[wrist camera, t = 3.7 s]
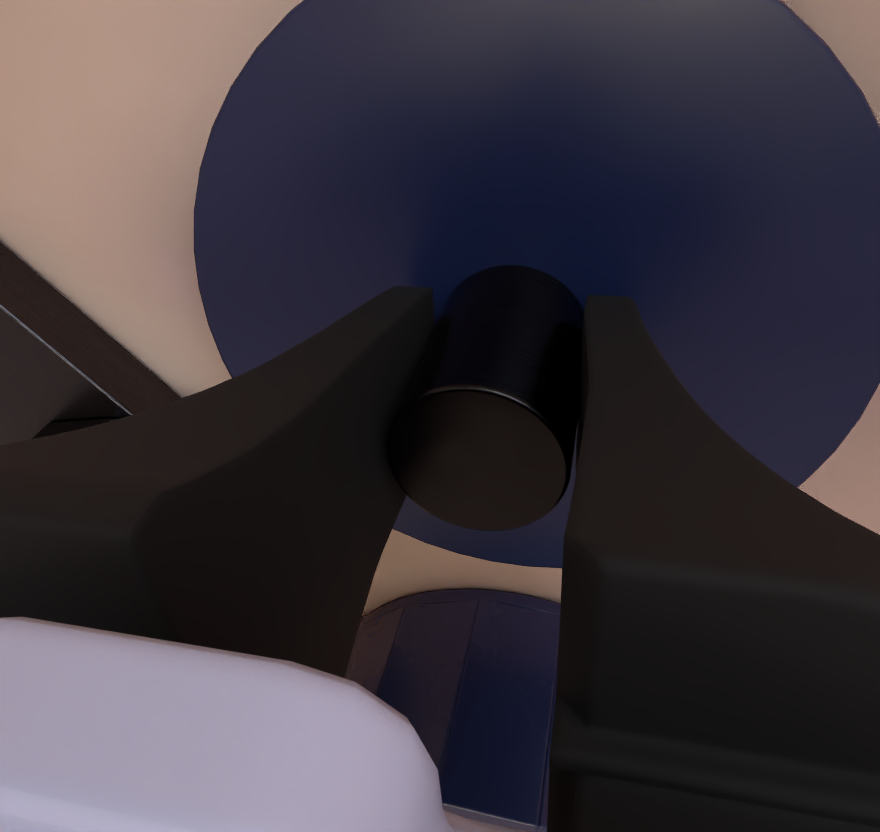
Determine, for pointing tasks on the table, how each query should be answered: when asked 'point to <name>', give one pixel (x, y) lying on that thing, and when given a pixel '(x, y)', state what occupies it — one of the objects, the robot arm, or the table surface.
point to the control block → (61, 363)
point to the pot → (471, 693)
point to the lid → (552, 228)
